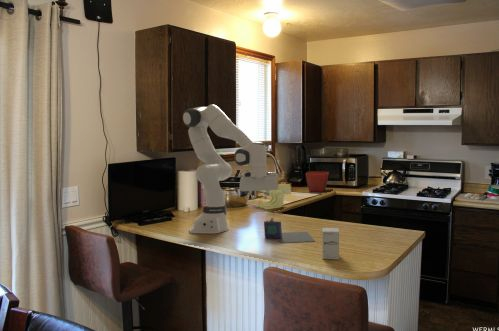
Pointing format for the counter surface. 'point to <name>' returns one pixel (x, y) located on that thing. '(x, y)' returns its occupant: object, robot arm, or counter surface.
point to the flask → (272, 229)
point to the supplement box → (330, 243)
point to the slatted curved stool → (276, 197)
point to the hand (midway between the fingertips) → (259, 199)
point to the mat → (295, 237)
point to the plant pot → (317, 181)
